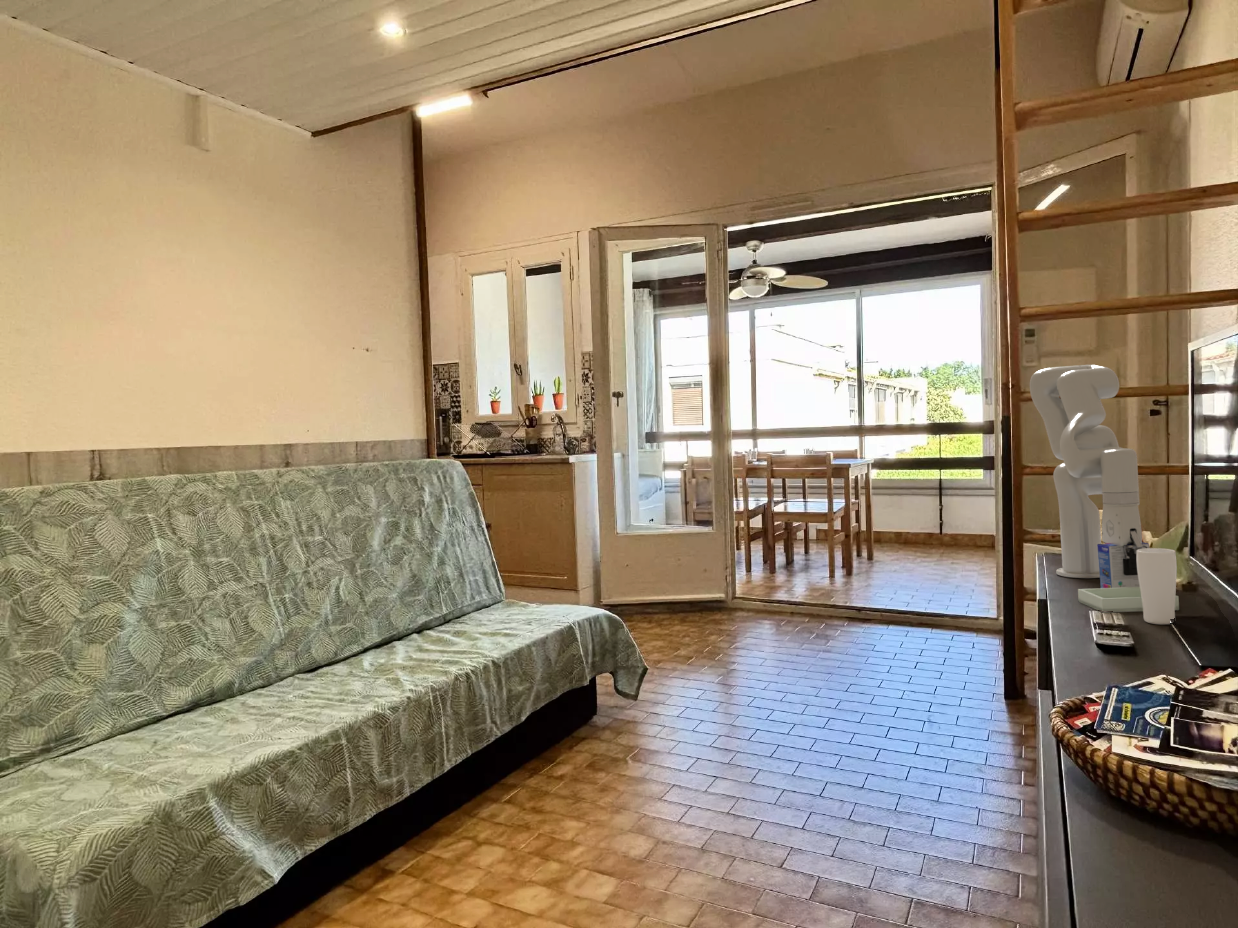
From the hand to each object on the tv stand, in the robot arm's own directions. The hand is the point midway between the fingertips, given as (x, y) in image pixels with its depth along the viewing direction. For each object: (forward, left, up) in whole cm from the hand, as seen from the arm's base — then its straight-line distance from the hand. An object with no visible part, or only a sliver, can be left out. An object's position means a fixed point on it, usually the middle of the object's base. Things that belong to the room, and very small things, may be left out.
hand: (1124, 572), depth 187 cm
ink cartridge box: (0, 0, -5) cm, 5 cm away
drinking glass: (+30, -8, -5) cm, 31 cm away
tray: (+14, -7, -5) cm, 16 cm away
